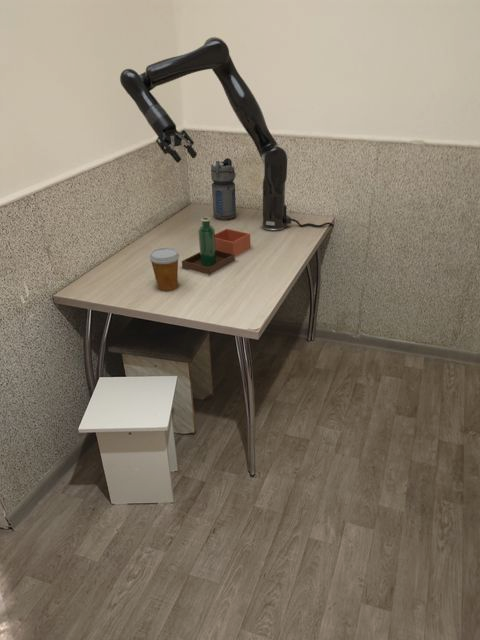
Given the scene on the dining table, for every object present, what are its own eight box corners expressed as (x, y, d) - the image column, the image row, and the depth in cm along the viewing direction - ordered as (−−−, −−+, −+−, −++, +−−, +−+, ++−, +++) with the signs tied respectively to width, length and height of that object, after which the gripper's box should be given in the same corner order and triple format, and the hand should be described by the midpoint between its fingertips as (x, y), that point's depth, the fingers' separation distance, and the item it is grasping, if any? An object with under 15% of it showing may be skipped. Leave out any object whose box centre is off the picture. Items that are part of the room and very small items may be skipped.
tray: (208, 254, 192) (208, 247, 191) (235, 261, 187) (234, 254, 185) (182, 268, 182) (181, 261, 180) (209, 275, 176) (208, 268, 175)
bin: (227, 242, 203) (226, 228, 200) (250, 248, 198) (250, 233, 194) (209, 251, 195) (208, 236, 192) (233, 257, 190) (233, 242, 186)
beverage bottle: (241, 213, 234) (240, 156, 221) (229, 222, 224) (227, 163, 210) (221, 211, 237) (219, 154, 224) (208, 219, 227) (205, 161, 213)
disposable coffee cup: (187, 283, 171) (184, 249, 165) (173, 295, 163) (170, 260, 157) (161, 279, 174) (157, 245, 167) (147, 290, 166) (142, 256, 160)
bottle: (213, 259, 187) (210, 215, 178) (218, 264, 183) (216, 219, 174) (198, 261, 185) (195, 217, 176) (203, 267, 181) (200, 222, 172)
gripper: (150, 116, 174) (179, 155, 175) (178, 111, 184) (205, 148, 185) (141, 131, 179) (169, 169, 180) (168, 126, 190) (195, 161, 190)
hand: (187, 158), depth 183 cm, fingers open, 8 cm apart
